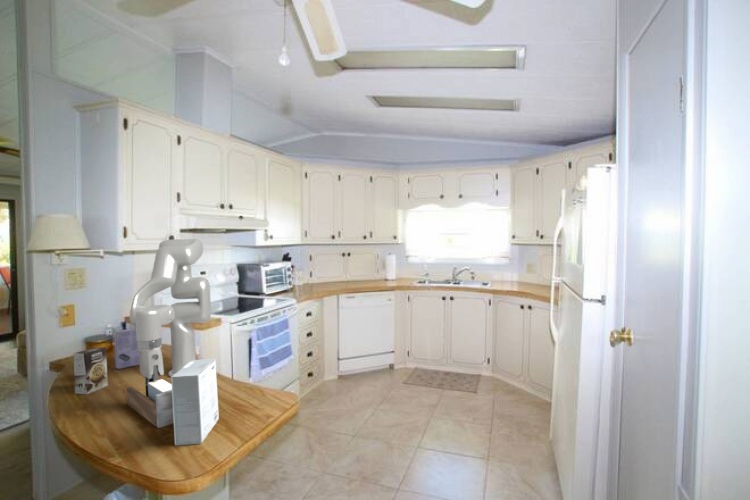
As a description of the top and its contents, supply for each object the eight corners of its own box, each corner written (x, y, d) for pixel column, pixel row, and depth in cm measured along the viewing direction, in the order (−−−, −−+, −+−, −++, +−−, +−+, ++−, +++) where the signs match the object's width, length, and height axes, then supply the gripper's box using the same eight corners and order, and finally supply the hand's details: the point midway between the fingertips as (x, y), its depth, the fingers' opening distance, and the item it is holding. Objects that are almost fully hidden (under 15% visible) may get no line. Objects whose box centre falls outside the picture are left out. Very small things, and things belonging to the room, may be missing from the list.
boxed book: (162, 407, 134) (161, 378, 134) (179, 418, 125) (177, 387, 125) (148, 411, 131) (147, 382, 131) (164, 423, 122) (163, 392, 122)
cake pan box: (159, 358, 196) (157, 324, 195) (162, 360, 192) (160, 325, 192) (114, 367, 182) (113, 331, 182) (117, 370, 178) (115, 332, 178)
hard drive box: (194, 421, 123) (192, 359, 122) (219, 419, 123) (216, 358, 123) (173, 446, 107) (170, 376, 107) (201, 444, 108) (198, 374, 108)
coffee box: (87, 394, 149) (86, 353, 148) (74, 393, 150) (72, 353, 150) (108, 385, 158) (106, 347, 157) (95, 385, 159) (93, 346, 159)
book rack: (155, 396, 145) (154, 369, 145) (189, 417, 125) (187, 387, 125) (127, 404, 138) (126, 376, 138) (158, 428, 118) (156, 396, 118)
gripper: (169, 344, 132) (171, 397, 133) (153, 338, 142) (155, 387, 142) (145, 349, 127) (147, 404, 127) (130, 343, 136) (132, 394, 137)
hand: (151, 395), depth 135 cm, fingers closed
